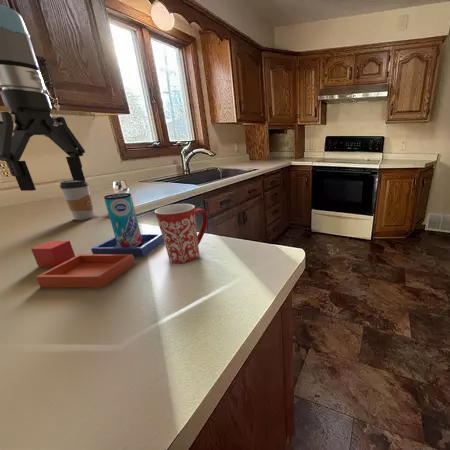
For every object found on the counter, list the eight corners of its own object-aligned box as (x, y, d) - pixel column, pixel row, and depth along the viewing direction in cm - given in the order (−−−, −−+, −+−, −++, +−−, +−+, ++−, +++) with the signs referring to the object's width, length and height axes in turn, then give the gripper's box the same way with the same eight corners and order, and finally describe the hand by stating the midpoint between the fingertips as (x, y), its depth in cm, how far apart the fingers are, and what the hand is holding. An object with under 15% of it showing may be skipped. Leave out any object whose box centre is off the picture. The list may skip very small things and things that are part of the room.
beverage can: (119, 253, 66) (103, 199, 61) (118, 246, 71) (104, 195, 66) (144, 247, 69) (131, 195, 64) (142, 241, 74) (130, 192, 69)
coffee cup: (86, 220, 95) (74, 182, 90) (65, 221, 96) (51, 182, 91) (102, 214, 103) (92, 179, 98) (83, 214, 103) (72, 179, 98)
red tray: (40, 287, 52) (35, 276, 51) (82, 263, 62) (79, 254, 61) (102, 287, 52) (98, 276, 51) (135, 263, 62) (132, 254, 61)
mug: (176, 269, 59) (165, 215, 54) (159, 259, 64) (147, 209, 59) (220, 250, 68) (214, 203, 63) (202, 243, 73) (195, 199, 69)
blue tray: (93, 257, 65) (90, 248, 64) (121, 241, 75) (119, 233, 74) (143, 257, 65) (141, 248, 64) (165, 241, 75) (163, 233, 74)
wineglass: (131, 204, 119) (125, 179, 115) (134, 206, 115) (128, 181, 111) (117, 206, 115) (110, 181, 111) (119, 209, 111) (112, 182, 107)
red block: (38, 267, 61) (30, 248, 59) (57, 257, 65) (51, 240, 64) (57, 267, 61) (50, 248, 59) (75, 257, 65) (69, 240, 64)
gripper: (-31, 78, 43) (17, 195, 50) (86, 99, 67) (107, 177, 74) (-73, 78, 43) (-19, 196, 50) (59, 99, 67) (83, 177, 74)
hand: (56, 185), depth 62 cm, fingers open, 13 cm apart
